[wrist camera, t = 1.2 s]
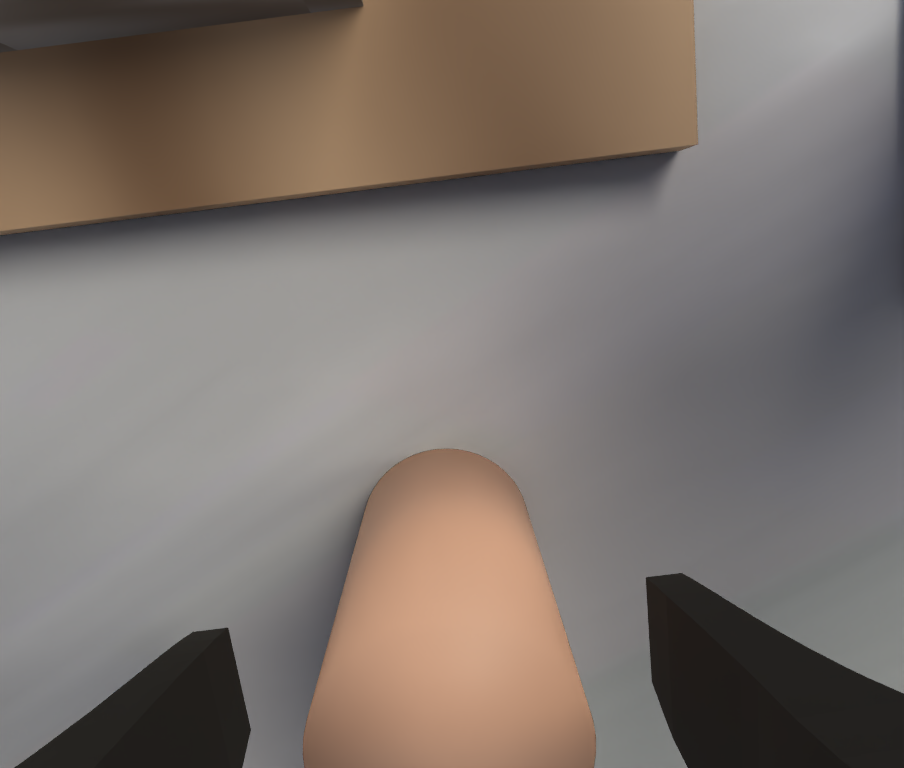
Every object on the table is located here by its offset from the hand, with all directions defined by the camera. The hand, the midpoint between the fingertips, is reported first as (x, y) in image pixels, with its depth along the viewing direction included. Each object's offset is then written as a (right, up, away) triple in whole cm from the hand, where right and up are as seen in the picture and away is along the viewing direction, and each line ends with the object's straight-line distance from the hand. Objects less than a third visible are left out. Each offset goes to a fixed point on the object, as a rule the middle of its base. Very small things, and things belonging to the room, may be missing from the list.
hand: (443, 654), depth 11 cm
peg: (0, +1, +5) cm, 5 cm away
